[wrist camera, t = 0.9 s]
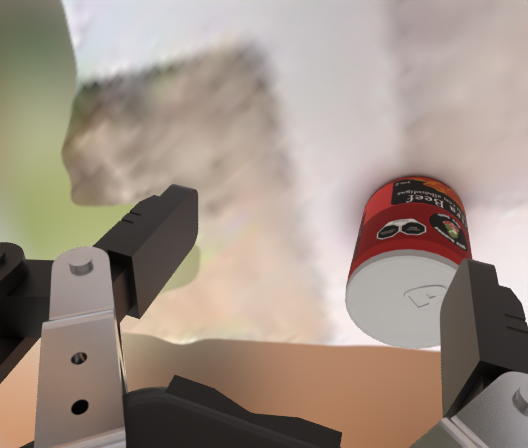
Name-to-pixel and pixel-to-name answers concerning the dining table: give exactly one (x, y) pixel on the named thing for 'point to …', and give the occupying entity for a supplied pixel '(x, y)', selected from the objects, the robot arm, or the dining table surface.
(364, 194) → the dining table surface
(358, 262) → the canned food
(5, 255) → the robot arm
